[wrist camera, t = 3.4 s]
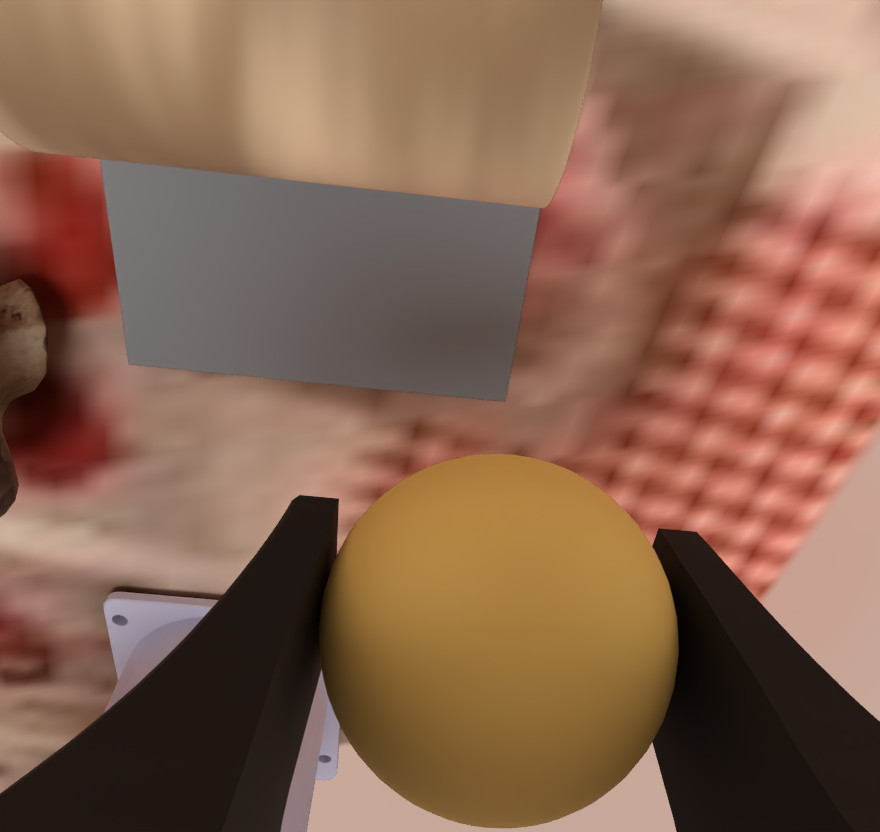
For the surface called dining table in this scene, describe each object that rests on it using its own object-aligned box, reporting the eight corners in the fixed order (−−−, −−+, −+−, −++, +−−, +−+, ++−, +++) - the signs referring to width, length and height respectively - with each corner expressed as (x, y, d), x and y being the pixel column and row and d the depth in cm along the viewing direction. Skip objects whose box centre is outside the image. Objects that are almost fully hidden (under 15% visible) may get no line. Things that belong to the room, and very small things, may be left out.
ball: (601, 629, 14) (657, 921, 10) (341, 601, 14) (283, 884, 10) (676, 409, 11) (795, 680, 7) (354, 371, 11) (282, 625, 7)
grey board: (504, 390, 20) (505, 404, 20) (136, 353, 20) (127, 366, 19) (657, -471, 12) (668, -493, 11) (16, -568, 11) (-8, -596, 11)
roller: (525, 164, 16) (554, 253, 12) (117, 118, 16) (-24, 190, 11) (577, -149, 13) (643, -199, 9) (75, -216, 13) (-140, -305, 8)
